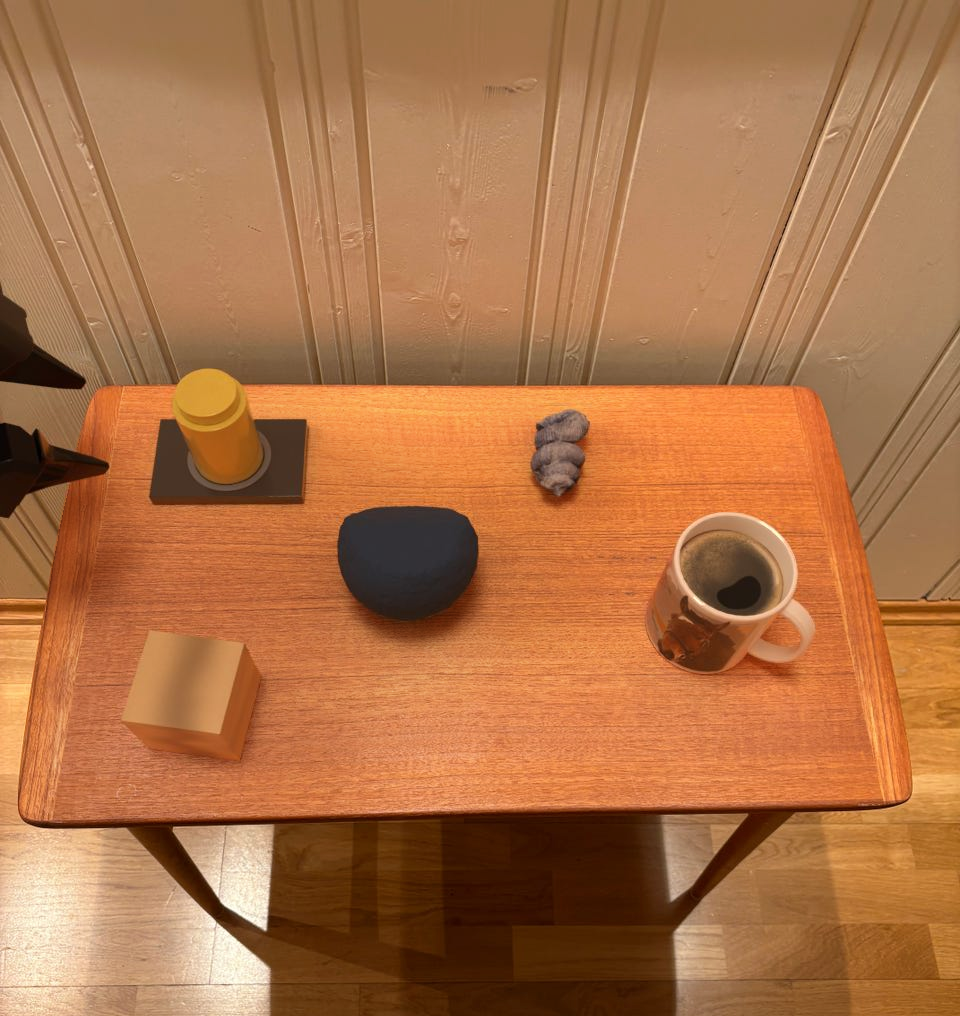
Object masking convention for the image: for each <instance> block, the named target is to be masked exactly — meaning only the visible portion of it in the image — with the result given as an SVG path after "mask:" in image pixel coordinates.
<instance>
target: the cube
mask: <svg viewBox="0 0 960 1016" xmlns="http://www.w3.org/2000/svg"><path fill="white" fill-rule="evenodd" d="M261 678H262V674H261V672H260V671H259V669H258V667H257V664H256V663H255V661H254V659H253V657H252V655H251V653H250V651H249V649H248V648H247V645H246V643H245V642H240V641H234V640H226V639H218V638H210V637H204V636H198V635H197V636H196V635H189V634H181V633H174V632H167V631H160V630H159V631H158V630H153V629H149V630H148V633H147V636H146V640H145V643H144V646H143V649H142V652H141V655H140V658H139V661H138V664H137V667H136V671H135V674H134V677H133V680H132V683H131V685H130V690H129V692H128V695H127V698H126V701H125V704H124V707H123V710H122V714H121V717H120V722H121V723H122V724H123V725H124V726H125V727H126V728H127V729H128V730H130V731H131V732H132V733H133V735H135V736H136V738H138V739H139V741H141V742H142V743H143V744H144V745H145V746H146V747H147V748H148V749H151V750H157V751H165V752H171V753H179V754H184V755H185V754H187V755H193V756H201V757H208V758H214V759H222V760H229V761H237V762H240V761H241V757H242V753H243V750H244V745H245V743H246V737H247V733H248V730H249V727H250V722H251V718H252V714H253V710H254V706H255V702H256V698H257V695H258V691H259V688H260V682H261Z"/></svg>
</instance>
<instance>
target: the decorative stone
mask: <svg viewBox="0 0 960 1016" xmlns="http://www.w3.org/2000/svg"><path fill="white" fill-rule="evenodd" d="M336 542H337V543H336V548H337V553H336V554H337V564H338V567H339V571H340V575H341V577H342V579H343V582H344V584H345V585H346V587H347V590H348V591H349V592H350V593H351V595H352V596H353V597H354V599H356V601H357V602H358V603H360V605H362V606H363V607H364V608H366V609H367V610H369V611H371V612H372V613H374V614H376V615H378V616H380V617H383V618H385V619H388V620H393V621H396V622H404V623H406V622H416V621H422V620H425V619H428V618H430V617H433V616H436V615H437V614H438V615H439V614H440V613H442V612H444V611H446V610H448V609H449V608H450V607H451V606H453V605H454V604H455V603H456V602H457V601H458V600H459V599H461V597H463V594H464V593H465V592H466V591H467V589H468V588H469V587H470V586H471V583H472V581H473V578H474V577H475V574H476V571H477V569H478V561H479V554H480V553H479V551H480V549H479V536H478V534H477V532H476V529H475V528H474V526H473V525H472V523H471V521H470V519H469V517H468V516H467V515H465V514H463V513H460V512H458V511H457V510H455V509H452V508H448V507H439V506H427V505H424V506H423V505H401V506H399V505H397V506H396V505H394V506H392V505H389V506H375V507H371V508H366V509H363V510H360V511H359V512H352V513H350V514H348V515H346V516H345V517H344V518H343V521H342V524H341V525H339V529H338V536H337V541H336Z"/></svg>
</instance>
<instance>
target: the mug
mask: <svg viewBox="0 0 960 1016" xmlns="http://www.w3.org/2000/svg"><path fill="white" fill-rule="evenodd" d="M798 581H799V569H798V563H797V560H796V556H795V554H794V552H793V550H792V547H791V546H790V544H789V543H788V541H787V540H786V539H785V538H784V536H783V535H781V533H780V532H779V531H777V529H775V528H774V527H773V526H772V525H770V524H769V523H767V522H765V521H763V520H762V519H760V518H757V517H755V516H752V515H749V514H746V513H742V512H736V511H735V512H733V511H721V512H720V511H719V512H715V513H710V514H708V515H704V516H701V517H700V518H697V520H695V521H692V523H690V524H689V525H688V526H687V527H686V528H685V529H684V531H682V532H681V534H680V536H679V538H678V540H677V541H676V543H675V545H674V547H673V549H672V552H671V554H670V556H669V558H668V560H667V562H666V564H665V566H664V569H663V571H662V573H661V575H660V577H659V579H658V581H657V583H656V585H655V587H654V590H653V592H652V594H651V596H650V597H649V600H648V603H647V606H646V607H645V608H646V609H645V616H644V621H645V622H644V623H645V628H646V632H647V635H648V638H649V640H650V642H651V644H652V646H653V648H654V649H655V650H656V651H657V652H658V654H659V655H661V656H662V658H663V659H665V661H667V662H668V663H670V664H671V665H673V666H674V667H677V668H678V669H681V670H683V671H686V672H689V673H694V674H699V675H700V674H702V675H703V674H704V675H710V674H711V675H712V674H718V673H722V672H725V671H727V670H730V669H732V668H733V667H736V665H738V664H739V663H740V662H742V661H743V660H744V658H745V657H746V656H747V655H748V654H749V655H751V656H753V657H755V658H757V659H758V660H762V661H765V662H768V663H777V664H780V663H781V664H782V663H783V664H784V663H791V662H795V661H798V660H799V659H802V657H803V656H804V655H805V654H806V653H807V652H808V650H809V648H810V646H811V645H812V643H813V641H814V640H815V636H816V625H815V622H814V620H813V618H812V616H811V614H810V612H809V611H808V609H806V608H805V607H804V605H802V603H800V602H799V601H797V600H796V599H794V598H793V596H794V594H795V592H796V589H797V586H798ZM779 615H780V616H782V617H783V618H785V619H786V620H787V621H788V622H790V623H791V624H792V625H793V626H794V627H795V628H796V630H797V631H798V634H799V637H800V642H799V643H796V644H793V645H787V646H786V645H779V644H774V643H771V642H769V641H766V640H765V639H762V638H761V637H762V636H763V635H764V634H765V632H766V631H767V630H768V628H769V627H770V626H771V625H772V624H773V622H774V621H775V620H776V619H777V618H778V616H779Z"/></svg>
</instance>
